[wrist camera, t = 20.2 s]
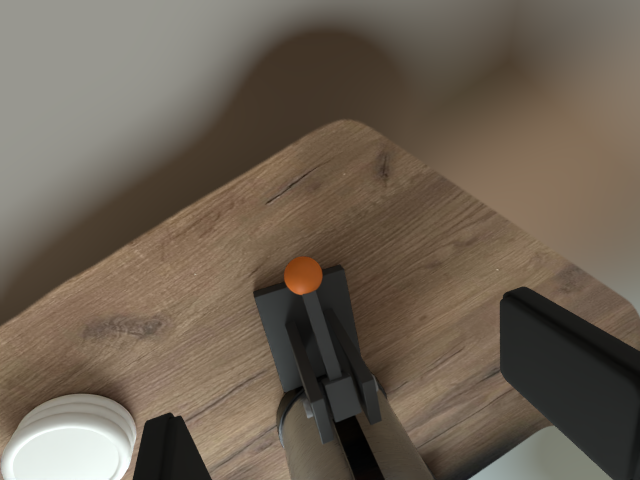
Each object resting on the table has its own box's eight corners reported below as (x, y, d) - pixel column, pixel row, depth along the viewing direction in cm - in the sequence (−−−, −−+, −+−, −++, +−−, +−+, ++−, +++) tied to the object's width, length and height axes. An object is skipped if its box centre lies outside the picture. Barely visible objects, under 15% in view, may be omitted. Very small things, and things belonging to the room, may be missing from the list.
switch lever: (278, 265, 32) (279, 260, 29) (313, 254, 32) (318, 249, 29) (324, 414, 30) (330, 427, 27) (359, 400, 31) (369, 411, 28)
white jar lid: (152, 449, 38) (146, 481, 35) (48, 486, 36) (32, 523, 33) (114, 376, 34) (104, 404, 31) (-4, 413, 32) (-28, 447, 29)
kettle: (259, 375, 38) (295, 588, 21) (372, 335, 41) (487, 499, 24) (290, 468, 44) (339, 695, 27) (388, 428, 46) (490, 614, 29)
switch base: (253, 291, 35) (270, 372, 24) (340, 264, 37) (393, 328, 26) (282, 385, 40) (308, 487, 29) (358, 357, 41) (409, 444, 30)
